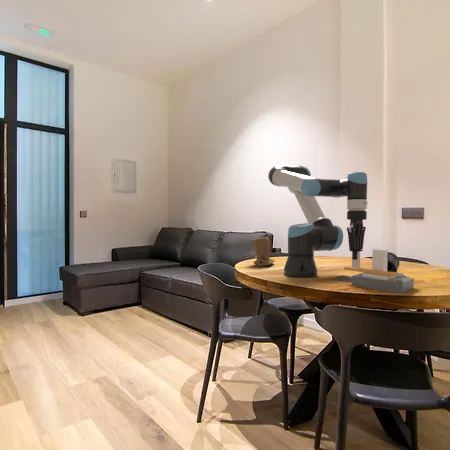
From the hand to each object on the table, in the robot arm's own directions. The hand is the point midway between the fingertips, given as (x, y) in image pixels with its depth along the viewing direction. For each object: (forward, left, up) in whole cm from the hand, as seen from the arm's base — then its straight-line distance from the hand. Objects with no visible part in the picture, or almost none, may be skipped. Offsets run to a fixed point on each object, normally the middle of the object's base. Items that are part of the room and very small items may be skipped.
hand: (355, 266), depth 132 cm
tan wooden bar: (+10, -7, 0) cm, 12 cm away
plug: (+11, -4, -6) cm, 13 cm away
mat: (-3, 0, -6) cm, 7 cm away
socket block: (+12, -4, -6) cm, 14 cm away
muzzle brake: (+6, +17, -6) cm, 19 cm away
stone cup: (-54, +5, -6) cm, 55 cm away
